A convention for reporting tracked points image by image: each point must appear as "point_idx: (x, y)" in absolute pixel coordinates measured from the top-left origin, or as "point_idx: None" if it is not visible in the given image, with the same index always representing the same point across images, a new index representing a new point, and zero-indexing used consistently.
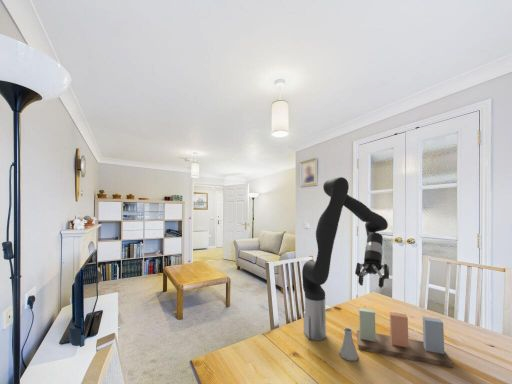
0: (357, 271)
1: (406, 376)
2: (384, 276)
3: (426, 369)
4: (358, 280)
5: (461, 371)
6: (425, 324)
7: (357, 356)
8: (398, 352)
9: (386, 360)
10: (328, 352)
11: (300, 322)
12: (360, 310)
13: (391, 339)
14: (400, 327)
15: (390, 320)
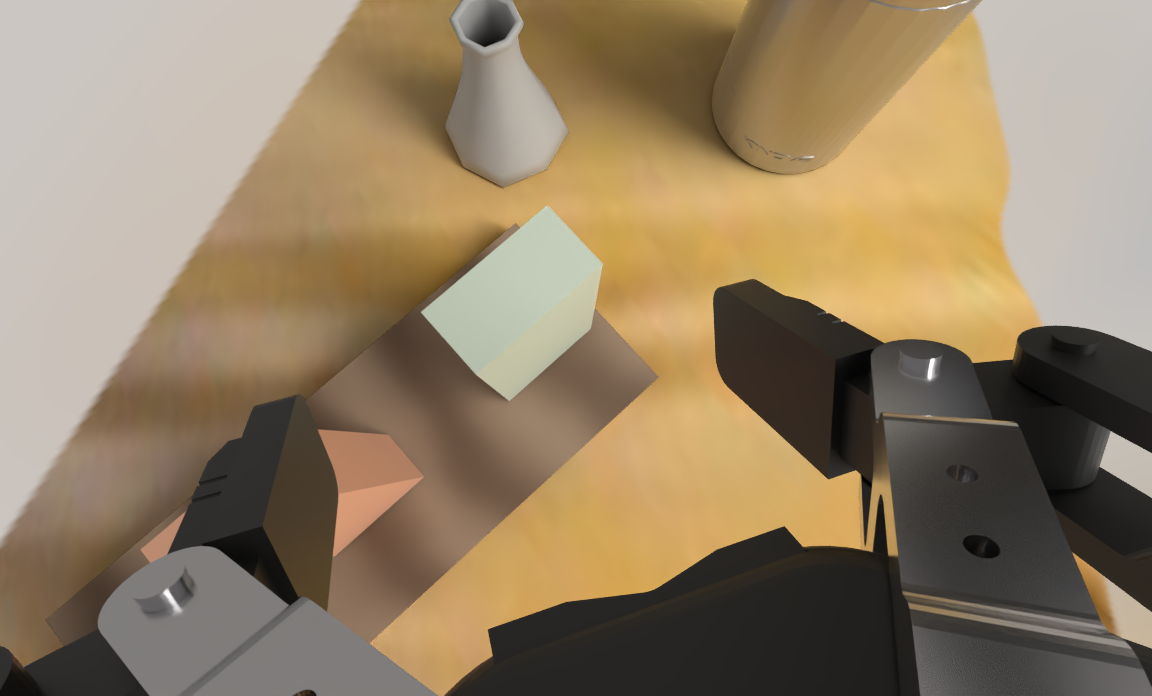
0: (1107, 379)
1: (211, 264)
2: (54, 681)
3: (169, 434)
4: (827, 315)
5: (29, 621)
6: (28, 664)
7: (457, 148)
8: (315, 392)
9: (353, 293)
10: (589, 47)
11: (977, 123)
12: (545, 217)
13: (380, 438)
14: None
15: (342, 457)
